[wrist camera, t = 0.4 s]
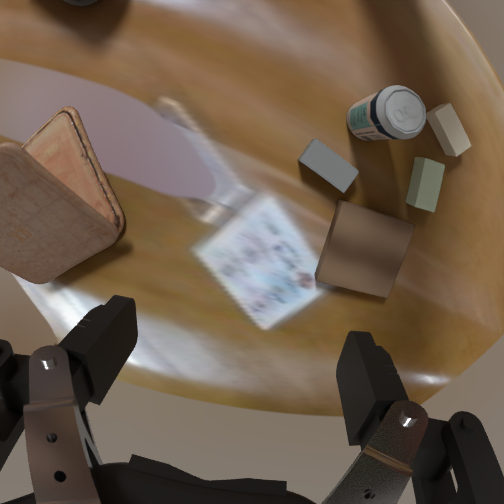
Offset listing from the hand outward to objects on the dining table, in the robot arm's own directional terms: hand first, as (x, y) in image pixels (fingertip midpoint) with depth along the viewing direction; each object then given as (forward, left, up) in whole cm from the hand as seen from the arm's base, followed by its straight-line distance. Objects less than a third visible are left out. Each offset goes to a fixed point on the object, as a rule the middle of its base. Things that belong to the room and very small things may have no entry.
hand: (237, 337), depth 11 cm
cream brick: (-19, +17, -27) cm, 37 cm away
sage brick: (-11, +17, -27) cm, 34 cm away
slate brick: (-8, +5, -27) cm, 28 cm away
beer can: (-14, +7, -27) cm, 31 cm away
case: (+11, -28, -27) cm, 40 cm away
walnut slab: (0, +14, -26) cm, 30 cm away
